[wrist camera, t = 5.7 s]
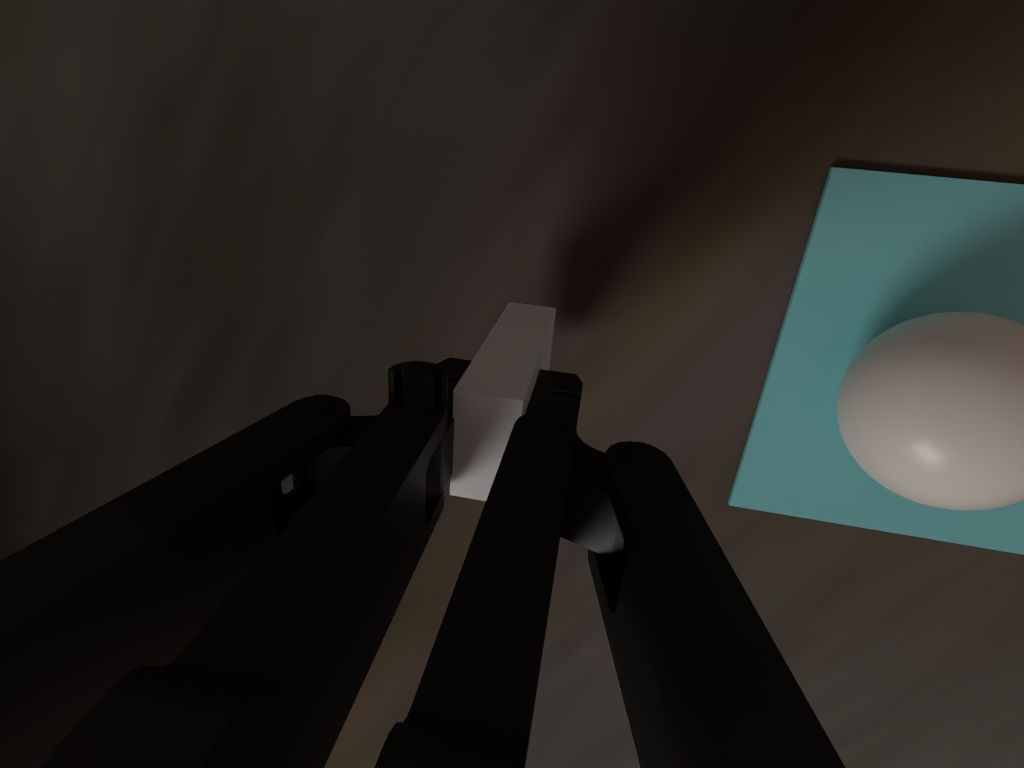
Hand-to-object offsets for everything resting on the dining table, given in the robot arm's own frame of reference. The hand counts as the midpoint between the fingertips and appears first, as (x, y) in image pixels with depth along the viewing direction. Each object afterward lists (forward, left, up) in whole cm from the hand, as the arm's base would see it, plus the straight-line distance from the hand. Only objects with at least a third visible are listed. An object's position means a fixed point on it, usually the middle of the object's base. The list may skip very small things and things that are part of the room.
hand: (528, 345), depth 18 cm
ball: (+12, 0, +1) cm, 12 cm away
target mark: (+14, 0, -2) cm, 14 cm away
